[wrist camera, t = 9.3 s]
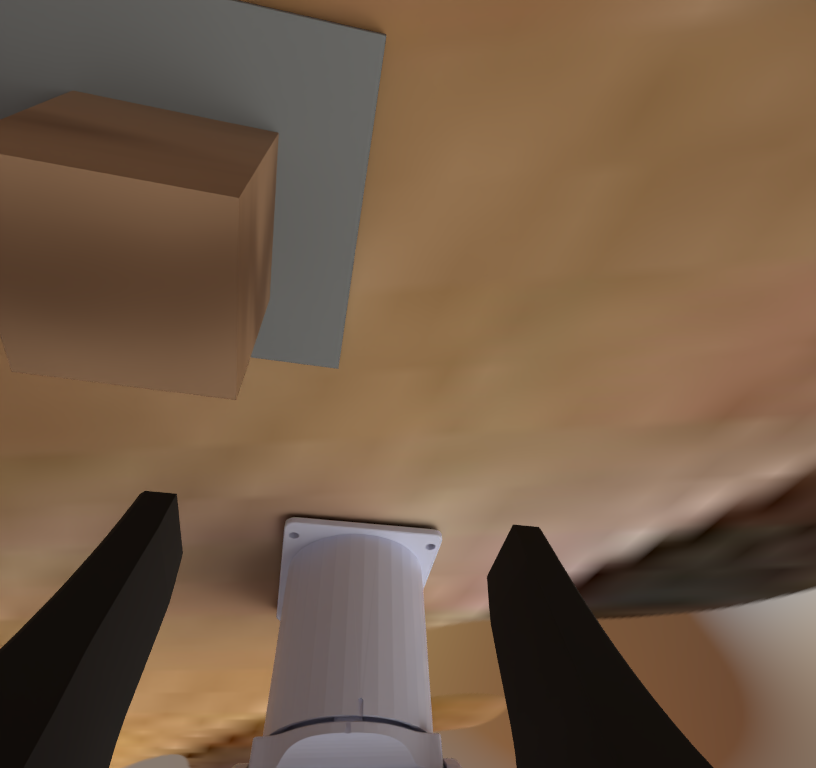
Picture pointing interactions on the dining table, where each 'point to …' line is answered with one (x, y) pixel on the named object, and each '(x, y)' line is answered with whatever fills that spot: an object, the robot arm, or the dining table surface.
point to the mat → (232, 120)
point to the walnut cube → (134, 244)
